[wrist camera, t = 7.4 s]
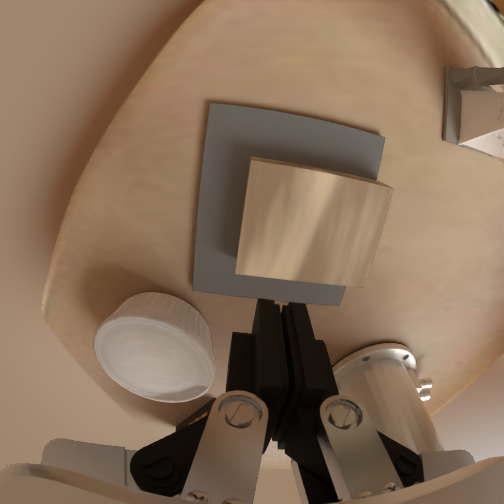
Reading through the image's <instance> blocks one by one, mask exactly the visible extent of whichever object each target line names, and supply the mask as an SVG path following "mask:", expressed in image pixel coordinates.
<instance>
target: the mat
mask: <svg viewBox="0 0 504 504" xmlns="http://www.w3.org/2000/svg"><path fill="white" fill-rule="evenodd" d="M384 142H385V137H382V136H379V135H376V134H373V133H369V132H366V131H362V130H359V129H355V128H351V127H348V126H344V125H340V124H336V123H332V122H328V121H323V120H319V119H314V118H310V117H305V116H300V115H295V114H289V113H284V112H278V111H272V110H266V109H259V108H252V107H244V106H236V105H227V104H217V103H210V108H209V115H208V122H207V130H206V138H205V146H204V154H203V163H202V172H201V182H200V192H199V203H198V214H197V227H196V240H195V256H194V273H193V291H198V292H206V293H214V294H222V295H230V296H238V297H247V298H256V299H258V298H262V299H271V300H275V301H286V302H297V303H307V304H319V305H332V306H339V305H340V302H341V299H342V297H343V294H344V291H345V288H346V286H342V285H332V284H322V283H312V282H303V281H293V280H284V279H275V278H266V277H258V276H249V275H241V274H235V269H236V257H237V250H238V242H239V235H240V228H241V221H242V214H243V207H244V200H245V193H246V186H247V179H248V172H249V165H250V158H251V157H258V158H265V159H272V160H278V161H284V162H290V163H296V164H301V165H307V166H312V167H317V168H322V169H327V170H332V171H337V172H341V173H346V174H350V175H355V176H359V177H363V178H367V179H372V180H377V175H378V171H379V166H380V161H381V157H382V152H383V147H384Z"/></svg>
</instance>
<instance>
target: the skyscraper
mask: <svg viewBox="0 0 504 504" xmlns="http://www.w3.org/2000/svg"><path fill="white" fill-rule="evenodd" d="M497 84H504V67H503V68H483V67H478V66H474V67H471V68H468V69H452V68H450V67H448V66H446V67H445V113H444V130H443V141H447V142H450V143H453V144H457V145H460V146H463V147H466V148H469V149H472V150H475V151H478V152H480V153H483V154H486V155H489V156H490V157H493V158H495V159H497V160H499V161H501V162H503V163H504V93H502V92H496V91H495V90H493V89H491V88H490V87H488V85H497Z"/></svg>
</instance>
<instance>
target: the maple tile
mask: <svg viewBox="0 0 504 504" xmlns="http://www.w3.org/2000/svg"><path fill="white" fill-rule="evenodd" d="M392 193H393V188H391V187H389V186H387V185H386V184H384V183H382V182H380V181H376V180H372V179H367V178H363V177H359V176H355V175H350V174H346V173H341V172H337V171H332V170H327V169H322V168H317V167H312V166H307V165H301V164H296V163H290V162H284V161H278V160H272V159H265V158H258V157H251V158H250V165H249V172H248V179H247V186H246V193H245V200H244V207H243V214H242V221H241V228H240V235H239V242H238V250H237V257H236V269H235V274H241V275H249V276H258V277H266V278H275V279H284V280H293V281H303V282H312V283H322V284H332V285H342V286H352V287H364V284H365V281H366V279H367V276H368V273H369V270H370V267H371V264H372V261H373V258H374V255H375V252H376V249H377V246H378V243H379V240H380V236H381V233H382V230H383V226H384V223H385V219H386V216H387V212H388V208H389V205H390V201H391V197H392Z"/></svg>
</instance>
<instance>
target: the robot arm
mask: <svg viewBox="0 0 504 504" xmlns="http://www.w3.org/2000/svg"><path fill="white" fill-rule="evenodd" d="M415 369H416V360H415V357H414V355H413V353H412V352H411V350H410V349H409V348H408V347H406V346H404V345H402V344H397V343H383V344H377V345H373V346H369V347H366V348H364V349H361V350H359V351H356V352H354V353H353V354H351V355H349V356H347V357H345V358H344V359H343V360H341V361H340V362H338V363H337V364H336V365H335V366H334V367H333V368H332V366H331V363H330V359H329V356H328V352H327V349H326V346H325V343H324V341H323V340H315V337H314V333H313V329H312V326H311V322H310V318H309V314H308V311H307V307H306V304H305V303H297V302H289V304H288V305H283V307H282V311H281V312H280V305H279V304H274V300H271V299H262V298H258V301H257V306H256V311H255V317H254V322H253V327H252V333H251V334H248V333H239V332H233V333H232V340H231V347H230V355H229V364H228V373H227V383H226V393H224V394H222V395H220V396H219V397H218V398H217V399H216V400H215V402H214V403H213V405H212V408H211V411H210V414H208V415H206V416H205V417H203V418H201V419H199V420H197V421H196V422H194V423H192V424H190V425H188V426H186V427H184V428H182V429H180V430H178V431H176V432H174V433H172V434H170V435H168V436H166V437H164V438H162V439H160V440H158V441H156V442H154V443H152V444H150V445H148V446H145V447H143V448H142V449H140V450H138V451H137V450H126V449H125V447H118V446H108V445H100V444H93V443H86V442H80V441H74V440H69V439H59V438H58V439H54V440H52V441H50V442H49V443H48V444H47V445H46V446H45V448H44V451H43V455H42V461H41V464H29V463H25V464H24V463H23V464H12V465H9V466H6V467H5V468H3V469H2V470H0V504H253V500H254V495H255V489H256V484H257V479H258V474H259V468H260V463H261V457H262V454H264V453H265V451H266V449H267V446H268V444H269V442H270V440H271V437H272V440H273V441H277V442H278V449H285V454H287V455H288V456H289V457H290V458H291V466H292V469H293V473H294V476H295V481H296V484H297V488H298V491H299V495H300V499H301V502H302V504H504V456H501V457H493V458H488V459H485V460H481V461H479V462H476V463H475V461H474V459H473V456H472V455H471V454H470V453H469V452H467V451H465V450H453V451H445V450H444V448H443V446H442V443H441V441H440V439H439V436H438V434H437V432H436V430H435V427H434V425H433V423H432V421H431V418H430V416H429V414H428V412H427V410H426V408H425V406H424V404H423V401H427V400H428V399H429V398H430V390H429V389H428V388H430V387H431V386H432V379H431V378H426V379H421V380H419V379H418V378H417V376H416V374H415V373H414V372H415Z"/></svg>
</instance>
